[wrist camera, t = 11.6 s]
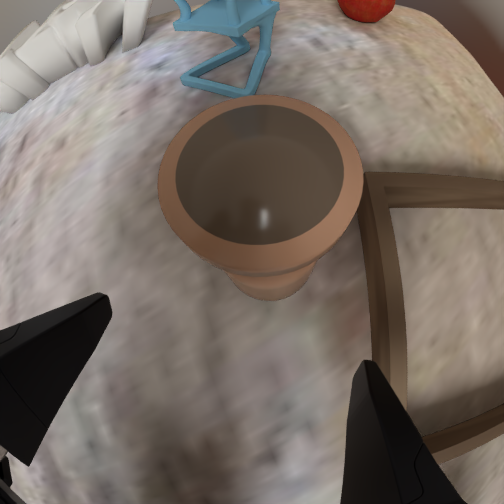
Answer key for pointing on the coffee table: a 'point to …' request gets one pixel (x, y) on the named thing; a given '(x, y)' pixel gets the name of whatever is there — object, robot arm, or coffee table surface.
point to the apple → (366, 9)
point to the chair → (233, 25)
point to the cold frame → (390, 286)
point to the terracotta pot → (261, 190)
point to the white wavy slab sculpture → (67, 45)
